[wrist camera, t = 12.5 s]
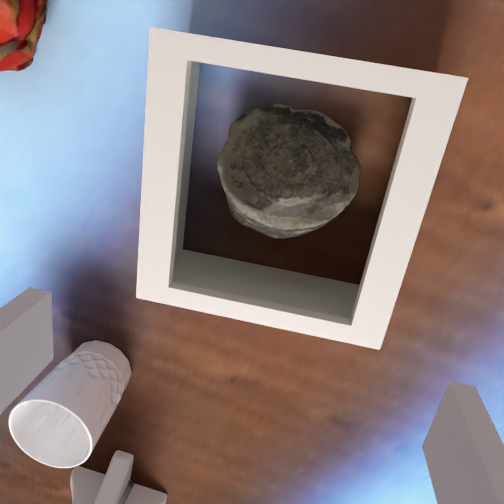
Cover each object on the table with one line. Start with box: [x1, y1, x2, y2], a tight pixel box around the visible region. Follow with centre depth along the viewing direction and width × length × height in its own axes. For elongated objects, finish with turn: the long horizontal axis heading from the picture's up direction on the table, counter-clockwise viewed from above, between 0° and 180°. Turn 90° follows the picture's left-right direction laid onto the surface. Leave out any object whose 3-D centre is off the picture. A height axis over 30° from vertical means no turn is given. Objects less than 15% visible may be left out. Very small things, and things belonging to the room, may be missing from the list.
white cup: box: [9, 340, 131, 468], centre depth 43 cm, size 8×8×10 cm
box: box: [136, 27, 468, 350], centre depth 33 cm, size 19×19×8 cm
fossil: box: [217, 104, 361, 239], centre depth 34 cm, size 11×9×10 cm
